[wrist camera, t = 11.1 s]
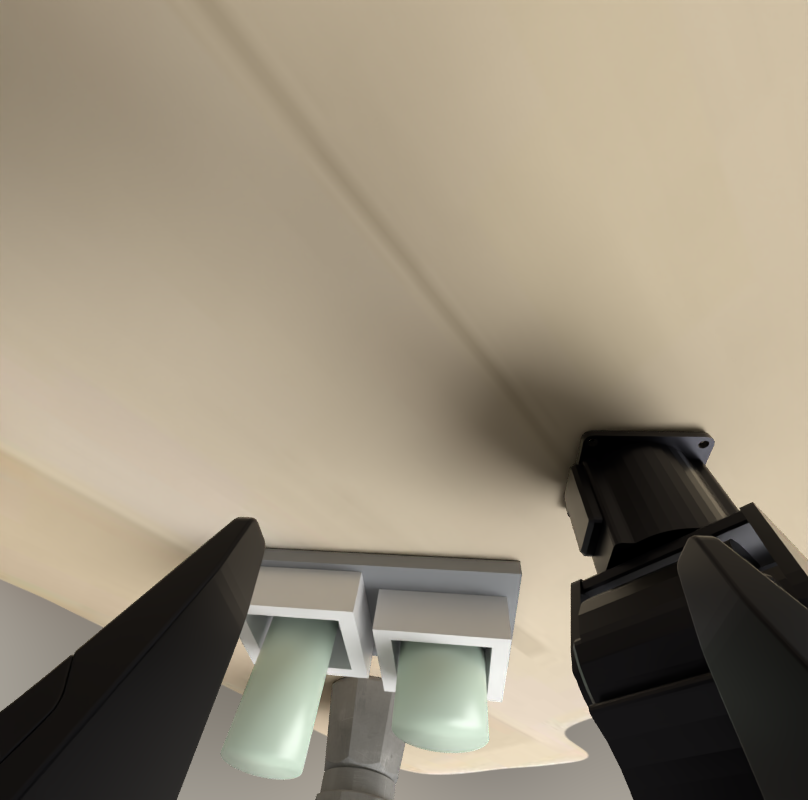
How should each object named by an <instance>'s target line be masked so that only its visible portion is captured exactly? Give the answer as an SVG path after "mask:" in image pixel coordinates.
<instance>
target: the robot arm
mask: <svg viewBox="0 0 808 800" xmlns="http://www.w3.org/2000/svg"><path fill="white" fill-rule="evenodd" d="M591 439H595V440H594V441H592V442H589V440H591ZM702 441H704V442H702ZM700 442H702V443H700ZM714 443H715V441H714V439H713V438H712V437H711V436H710V435H709V434H708V433H705V432H646V431H588V432H586V433H585V434H583V435H582V438H581V442H580V446H579V451H578V456H577V460H576V464H573V465H572V466H571V467H570V471H569V476H568V480H567V485H566V490H565V495H564V499H565V502H566V511H567V514H568V516H569V517H570V519H571V523H572V526H573V529H574V533H575V536H576V540H577V543H578V546H579V550H580V552H581V553H582V554H583V555H584V556H592V559H593V562H594V565H595V568H596V571H597V574H596V575H594V576H592V577H590V578H587V579H585V580H582V579H580V580H578V581H576V582H573V583H571V659H572V671H573V674H574V676H575V678H576V680H577V683H578V686H579V688H580V691H581V693H582V695H583V697H584V700H585V702H586V703H587V705H588V707H589V712H590V714H591V716H592V718H593V719H594V721H595V723H596V724H597V726H598V727H599V729H600V731H601V732H602V734H603V736H604V737H605V739H606V740H607V742H608V744H609V746H610V748H611V750H612V752H613V754H614V756H615V758H616V760H617V762H618V764H619V766H620V768H621V770H622V773H623V775H624V777H625V780H626V782H627V785H628V787H629V789H630V792H631V795H632V797H633V800H808V560H807V559H806V557H805V556H804V555H803V554H802V553H801V552H800V551H799V550H798V549H797V548H796V547H795V546H794V545H793V544H792V543H791V542H790V540H789V539H788V538H787V537H786V536H785V535H784V534H783V533H782V532H781V531H780V530H779V529H778V528H777V527H776V526H775V525H774V524H773V523H772V521H771V520H770V519H769V518H768V517H767V516H766V515H765V514H764V513H763V512H762V511H761V510H760V509H759V508H758V507H757V506H756V505H755V504H754V503H753V502H752V503H749V504H747V505H745V506H743V507H741V508H740V511H739V510H738V509H737V507H736V506H735V505H734V503H733V502H732V500H731V499H730V498H729V496H728V495H727V494H726V492H725V491H724V490H723V488H722V487H721V486H720V484H719V483H718V482H717V480H716V479H715V478H714V476H713V475H712V474H711V472H710V471H709V470H708V468H707V467H706V465H705V464H706V462H707V460H708V458H709V455H710V453H711V451H712V449H713V446H714ZM264 552H265V540H264V538H263V535H262V532H261V530H260V527H259V524H258V522H257V520H256V519H255V518H250V517H238V518H236V519H234V520H233V521H231V522H230V523H229V524H228V525H227V526H225V527H224V528H223V529H222V530H221V531H219V532H218V533H217V534H216V535H215V536H213V537H212V538H211V539H210V540H209V541H207V542H206V543H205V544H204V545H203V546H201V547H200V548H199V549H198V550H197V551H195V552H194V553H193V554H192V555H191V556H189V557H188V558H187V559H186V560H185V561H183V562H182V563H181V564H180V565H178V566H177V567H176V568H175V569H174V570H172V571H171V572H170V573H169V574H168V575H166V576H165V577H164V578H163V579H162V580H160V581H159V582H158V583H157V584H156V585H154V586H153V587H152V588H151V589H150V590H148V591H147V592H146V593H145V594H144V595H142V596H141V597H140V598H139V599H138V600H136V601H135V602H134V603H133V604H132V605H130V606H129V607H128V608H127V609H126V610H124V611H123V612H122V613H121V614H120V615H118V616H117V617H116V618H115V619H114V620H112V621H111V622H110V623H109V624H108V625H106V626H105V627H104V628H103V629H102V630H100V631H99V632H98V633H97V634H96V635H94V636H93V637H92V638H91V639H90V640H88V641H87V642H86V643H85V644H84V645H82V646H81V647H80V648H79V649H78V650H77V651H76V652H75V654H74V655H70V656H69V657H68V658H67V659H66V660H64V661H63V662H62V663H61V664H59V665H58V666H57V667H56V668H55V669H53V670H52V671H51V672H50V673H49V674H47V675H46V676H45V677H44V678H42V679H41V680H40V681H39V682H38V683H36V684H35V685H34V686H33V687H31V688H30V689H29V690H28V691H26V692H25V693H24V694H23V695H21V696H20V697H19V698H18V699H16V700H15V701H14V702H13V703H11V704H10V705H9V706H7V707H6V708H5V709H4V710H2V711H1V712H0V800H177V797H178V795H179V792H180V790H181V787H182V784H183V782H184V779H185V777H186V774H187V771H188V769H189V766H190V764H191V761H192V758H193V756H194V753H195V751H196V748H197V746H198V743H199V740H200V738H201V735H202V733H203V730H204V727H205V725H206V722H207V720H208V717H209V714H210V712H211V709H212V707H213V704H214V701H215V699H216V696H217V694H218V691H219V688H220V686H221V683H222V681H223V678H224V675H225V673H226V670H227V668H228V665H229V662H230V660H231V657H232V655H233V652H234V649H235V647H236V644H237V642H238V639H239V636H240V634H241V631H242V629H243V626H244V623H245V620H246V617H247V614H248V610H249V607H250V603H251V600H252V596H253V592H254V589H255V585H256V581H257V578H258V574H259V570H260V567H261V563H262V559H263V556H264Z"/></svg>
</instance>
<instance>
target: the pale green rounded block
mask: <svg viewBox="0 0 808 800" xmlns="http://www.w3.org/2000/svg"><path fill="white" fill-rule="evenodd" d="M338 625H339V621H336V620H322V619H308V618H294V617H280V616H273V619H272V621H271V624H270V627H269V629H268V632H267V634H266V637H265V639H264V642H263V645H262V647H261V650H260V652H259V655H258V657H257V660H256V663H255V665H254V668H253V670H252V673H251V675H250V678H249V681H248V683H247V686H246V688H245V691H244V694H243V696H242V699H241V701H240V704H239V706H238V710H237V712H236V714H235V717H234V720H233V722H232V725H231V727H230V730H229V732H228V735H227V738H226V740H225V743H224V745H223V748H222V750H221V757H222V759H223V760H224V761H225V762H226V763H228V764H229V765H231V766H232V767H234V768H236V769H238V770H240V771H243V772H245V773H248V774H251V775H255V776H259V777H263V778H269V779H282V780H284V779H293V778H296V777H298V776H300V775H301V774H302V771H303V767H304V763H305V759H306V755H307V751H308V747H309V743H310V739H311V735H312V731H313V727H314V723H315V719H316V714H317V710H318V706H319V702H320V698H321V694H322V690H323V686H324V682H325V678H326V674H327V670H328V666H329V662H330V658H331V653H332V649H333V645H334V641H335V637H336V633H337V629H338Z"/></svg>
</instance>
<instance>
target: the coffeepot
mask: <svg viewBox="0 0 808 800" xmlns="http://www.w3.org/2000/svg"><path fill="white" fill-rule="evenodd" d="M394 700H395V692H388V691H384V686H383V681H382V678H378V677H372V676H369V678H358V677H345V678H342V679H340V680H338V681H336V682H335V683H333V684H332V693H331V704H330V715H329V726H328V737H327V748H326V758H325V770H324V771H325V773H324V776H323V781H322V786H321V792H320V793H319V794H317V796H316V799H315V800H394V793H395V784H396V782H397V779H398V775H399V770H400V766H401V761H402V756H403V751H404V747H405V742H403V741H402V740H400V739H399V738H398V737H396V736H395V734H394V733H393V731H392V718H393V709H394Z"/></svg>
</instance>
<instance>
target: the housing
mask: <svg viewBox="0 0 808 800" xmlns="http://www.w3.org/2000/svg"><path fill="white" fill-rule="evenodd" d="M521 577H522V571H521V565H520V561H502V560H483V559H463V558H444V557H424V556H405V555H386V554H366V553H347V552H327V551H308V550H288V549H269V548H265V552H264V556H263V559H262V563H261V567H260V570H259V574H258V578H257V581H256V585H255V589H254V592H253V596H252V600H251V603H250V607H249V610H248V614H247V617H246V620H245V623H244V626H243V629H242V631H241V634H240V636H239V637H240V639H241V641H242V643H243V645H244V647H245V649H246V651H247V652H248V654H249V656H250V658H251V660H252V662H253V664H254V665H255V663H256V660H257V657H258V655H259V652H260V650H261V647H262V645H263V642H264V639H265V637H266V634H267V632H268V629H269V627H270V624H271V621H272V619H273V616H280V617H294V618H308V619H322V620H336V621H339V625H338V629H337V633H336V637H335V641H334V645H333V649H332V653H331V658H330V662H329V666H328V670H327V674H326V675H336V676H347V677H358V678H369V672H370V666H371V660H372V655H373V656H378V661H379V666H380V671H381V676H382V681H383V686H384V691H388V692H395V700H394V709H393V718H392V731H393V733H394V734H395V736H396V737H398V738H399V739H400V740H402V741H403V742H405V743H407V744H410V745H412V746H415V747H418V748H421V749H425V750H429V751H435V752H443V753H464V752H470V751H474V750H478V749H480V748H482V747H484V746H485V745H486V744H487V743H488V741H489V726H488V708H487V701H496V702H502V700H503V694H504V687H505V680H506V674H507V667H508V663H509V656H510V650H511V643H512V636H513V630H514V623H515V617H516V610H517V603H518V597H519V590H520V584H521Z"/></svg>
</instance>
